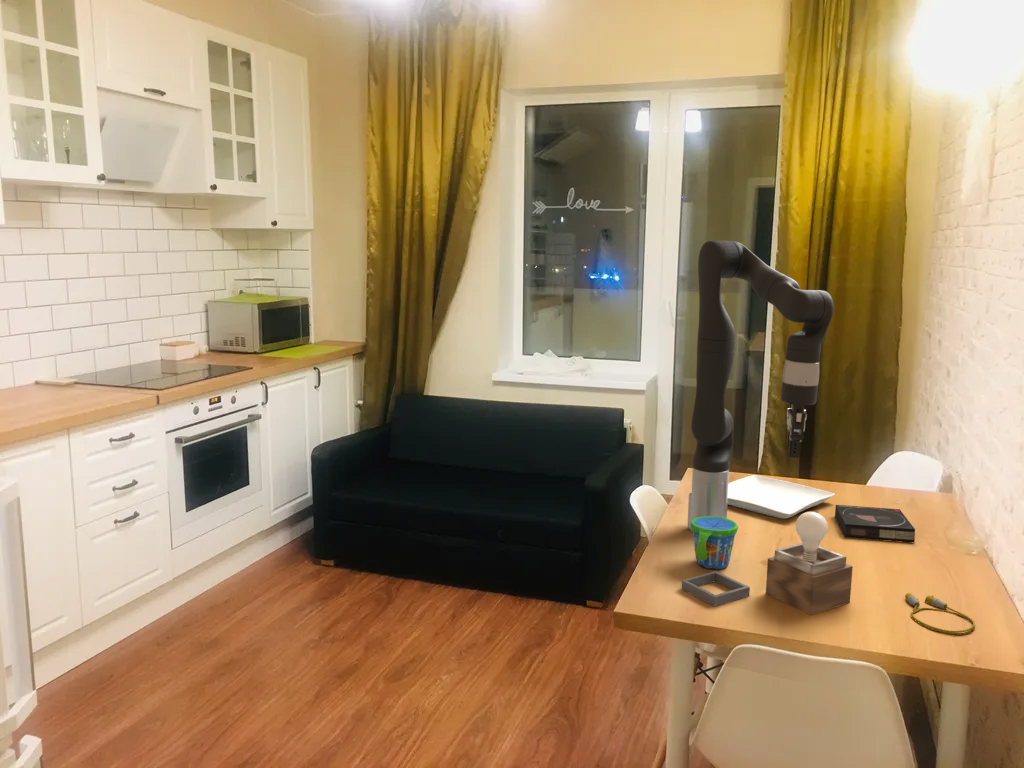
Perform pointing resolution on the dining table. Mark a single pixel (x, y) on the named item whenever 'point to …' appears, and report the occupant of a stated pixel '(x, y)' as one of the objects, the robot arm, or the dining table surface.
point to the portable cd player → (874, 523)
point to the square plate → (773, 496)
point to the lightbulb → (811, 533)
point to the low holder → (715, 600)
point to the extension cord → (937, 603)
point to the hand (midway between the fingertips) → (792, 452)
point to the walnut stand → (809, 579)
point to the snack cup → (713, 540)
